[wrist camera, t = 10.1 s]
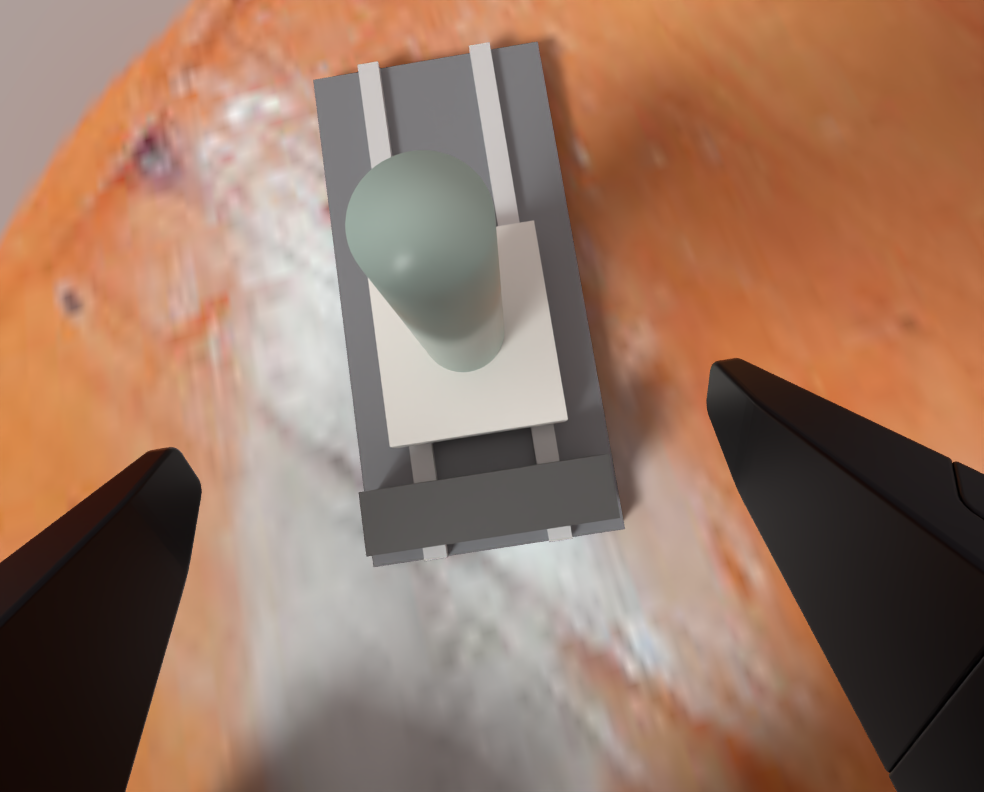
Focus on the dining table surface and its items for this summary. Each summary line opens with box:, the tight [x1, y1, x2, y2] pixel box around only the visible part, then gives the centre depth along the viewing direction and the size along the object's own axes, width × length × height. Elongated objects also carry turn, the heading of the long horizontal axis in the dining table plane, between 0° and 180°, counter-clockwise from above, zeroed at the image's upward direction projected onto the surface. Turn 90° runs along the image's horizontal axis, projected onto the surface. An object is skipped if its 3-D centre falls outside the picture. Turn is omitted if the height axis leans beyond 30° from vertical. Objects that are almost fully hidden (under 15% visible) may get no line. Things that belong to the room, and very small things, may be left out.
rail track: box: [313, 42, 625, 567], centre depth 20 cm, size 19×9×4 cm, turn 9°
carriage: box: [345, 150, 568, 448], centre depth 15 cm, size 7×6×10 cm
